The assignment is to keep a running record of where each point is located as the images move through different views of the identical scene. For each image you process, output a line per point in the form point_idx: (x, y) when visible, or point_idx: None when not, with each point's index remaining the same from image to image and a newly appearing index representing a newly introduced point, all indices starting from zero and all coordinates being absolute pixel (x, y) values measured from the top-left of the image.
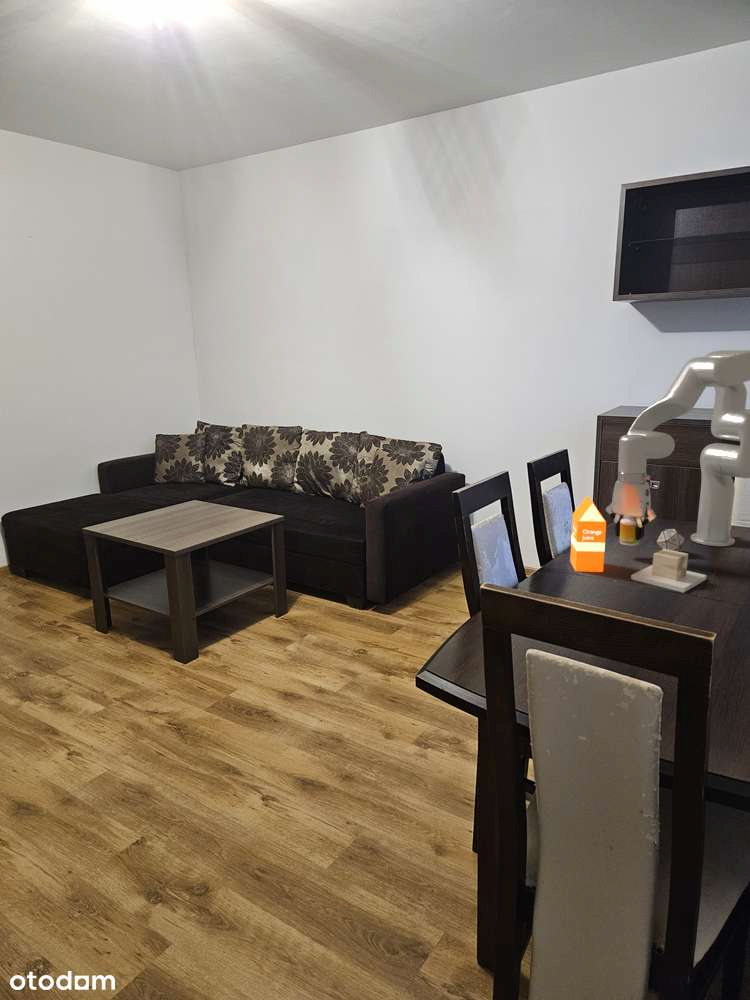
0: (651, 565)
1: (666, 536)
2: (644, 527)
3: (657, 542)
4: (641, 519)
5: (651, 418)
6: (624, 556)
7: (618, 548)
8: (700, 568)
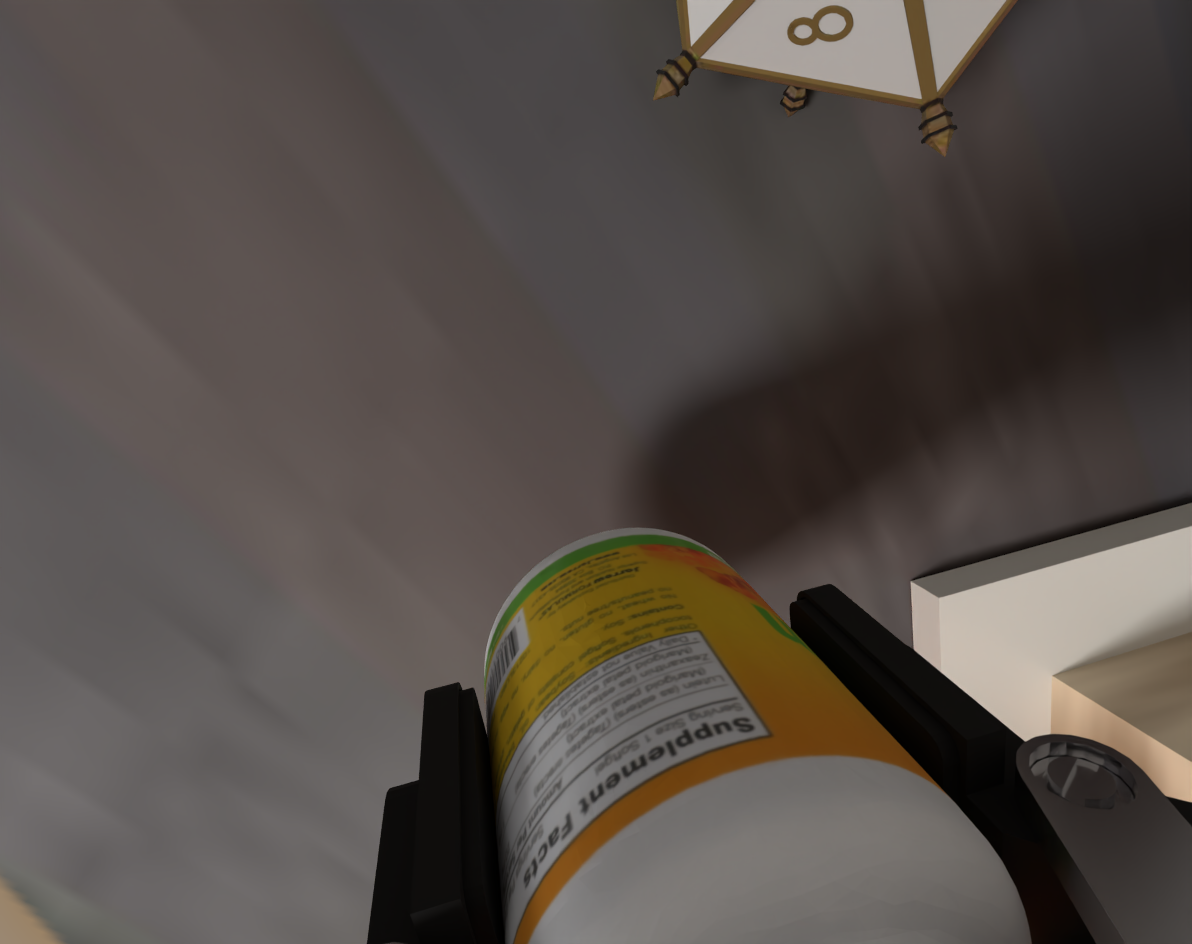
0: (945, 674)
1: (947, 2)
2: (1024, 741)
3: (724, 69)
4: (1121, 927)
5: None
6: (526, 561)
7: (234, 358)
8: (1185, 240)
